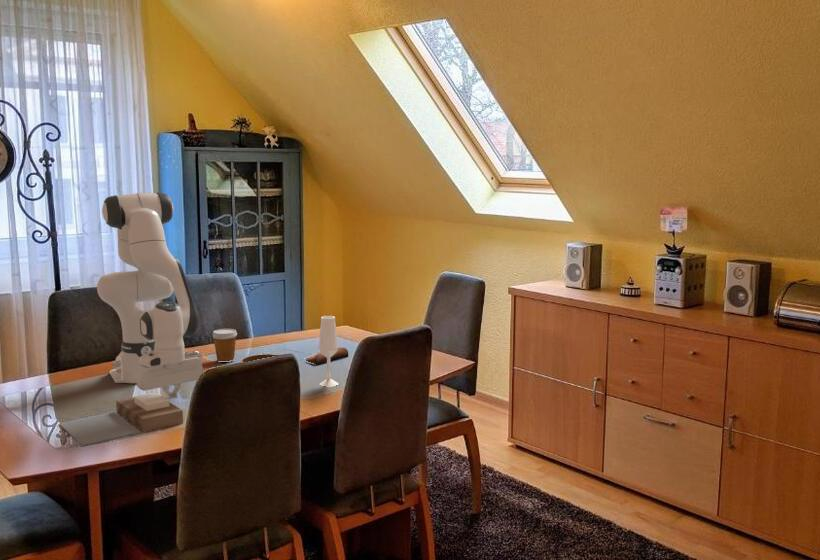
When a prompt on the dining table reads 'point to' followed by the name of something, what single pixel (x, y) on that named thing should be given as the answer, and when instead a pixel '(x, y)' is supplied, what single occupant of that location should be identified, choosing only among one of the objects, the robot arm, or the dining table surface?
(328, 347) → the champagne flute
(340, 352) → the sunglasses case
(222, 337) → the disposable coffee cup
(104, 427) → the grey mat
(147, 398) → the cream flat block
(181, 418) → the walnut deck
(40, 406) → the dining table surface
